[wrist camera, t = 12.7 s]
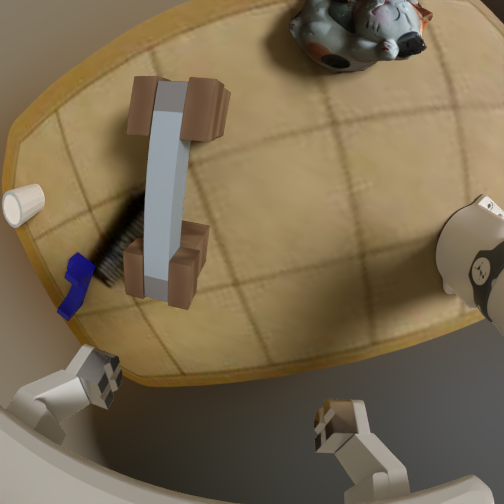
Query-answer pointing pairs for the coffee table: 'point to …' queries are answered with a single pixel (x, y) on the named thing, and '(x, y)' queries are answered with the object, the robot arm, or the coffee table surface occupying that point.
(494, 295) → the robot arm
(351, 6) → the lucky cat figurine
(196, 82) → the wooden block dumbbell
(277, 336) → the coffee table surface
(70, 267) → the cable clip
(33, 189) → the shot glass
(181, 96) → the bed rail
